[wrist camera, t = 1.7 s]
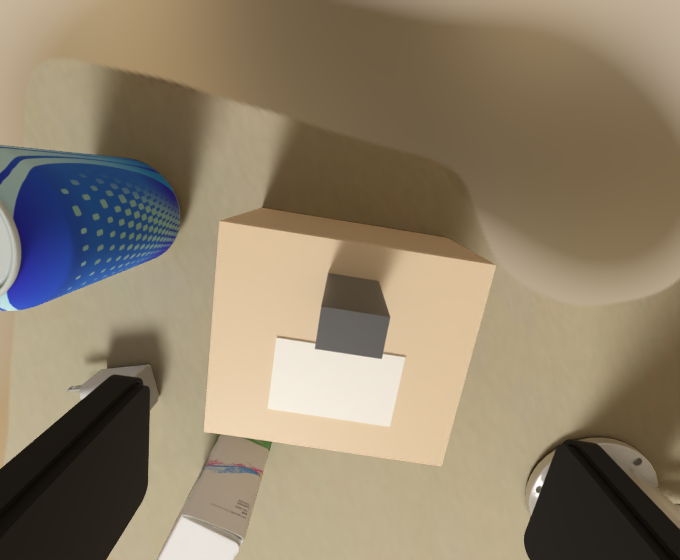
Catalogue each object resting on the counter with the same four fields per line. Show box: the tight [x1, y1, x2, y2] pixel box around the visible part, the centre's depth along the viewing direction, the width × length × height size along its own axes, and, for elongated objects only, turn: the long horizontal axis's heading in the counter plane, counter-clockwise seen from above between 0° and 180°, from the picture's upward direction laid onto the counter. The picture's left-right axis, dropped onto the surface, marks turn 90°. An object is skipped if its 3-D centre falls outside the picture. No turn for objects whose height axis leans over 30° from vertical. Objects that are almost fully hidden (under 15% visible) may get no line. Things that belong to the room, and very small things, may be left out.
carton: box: [224, 208, 490, 262], centre depth 29 cm, size 16×14×10 cm
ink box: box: [157, 434, 272, 560], centre depth 32 cm, size 8×5×12 cm, turn 152°
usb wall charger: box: [66, 365, 159, 410], centre depth 34 cm, size 4×7×4 cm, turn 97°
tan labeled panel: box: [204, 220, 496, 466], centre depth 20 cm, size 16×14×7 cm
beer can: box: [0, 145, 180, 311], centre depth 24 cm, size 8×8×16 cm
